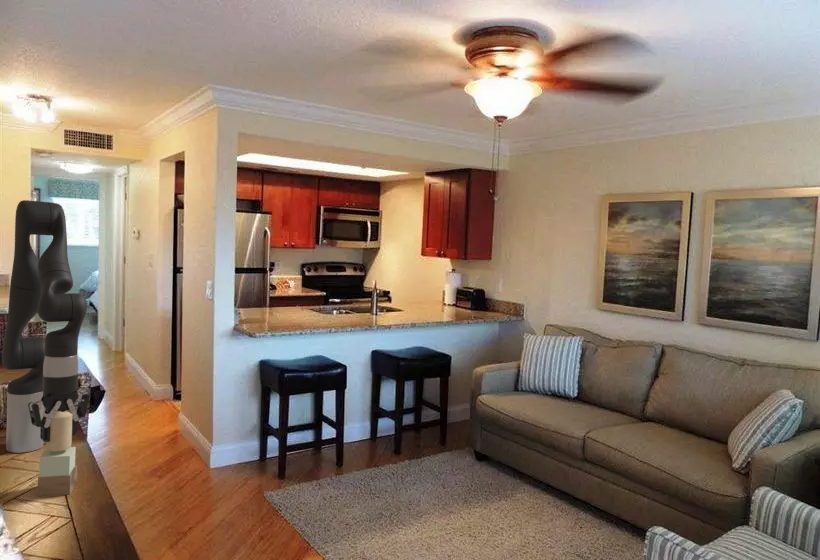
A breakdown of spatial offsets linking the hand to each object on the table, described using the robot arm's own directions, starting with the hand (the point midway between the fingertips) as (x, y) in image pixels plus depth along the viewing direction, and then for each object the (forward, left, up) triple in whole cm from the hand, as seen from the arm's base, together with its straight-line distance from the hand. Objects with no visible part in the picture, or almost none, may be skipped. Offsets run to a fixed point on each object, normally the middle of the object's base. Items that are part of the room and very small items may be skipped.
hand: (58, 437), depth 144 cm
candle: (0, 0, -3) cm, 3 cm away
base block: (0, 0, -14) cm, 14 cm away
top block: (0, 0, -9) cm, 9 cm away
